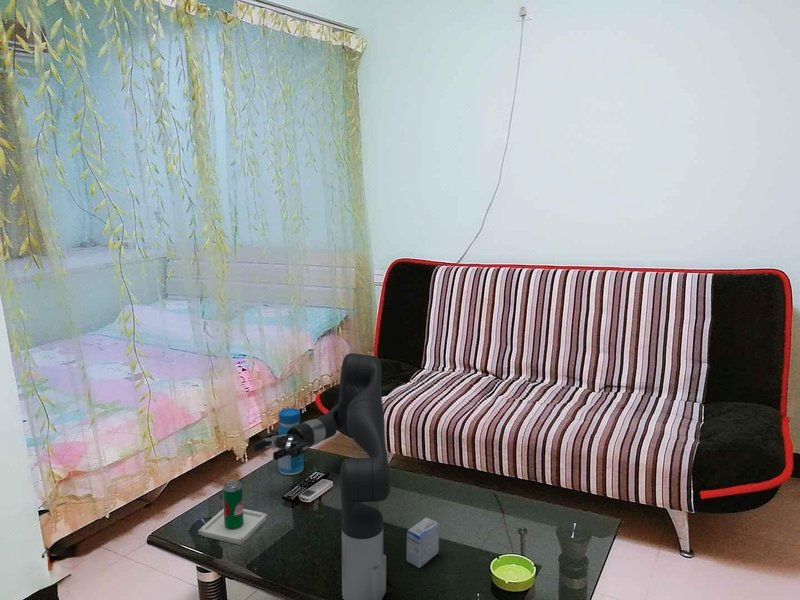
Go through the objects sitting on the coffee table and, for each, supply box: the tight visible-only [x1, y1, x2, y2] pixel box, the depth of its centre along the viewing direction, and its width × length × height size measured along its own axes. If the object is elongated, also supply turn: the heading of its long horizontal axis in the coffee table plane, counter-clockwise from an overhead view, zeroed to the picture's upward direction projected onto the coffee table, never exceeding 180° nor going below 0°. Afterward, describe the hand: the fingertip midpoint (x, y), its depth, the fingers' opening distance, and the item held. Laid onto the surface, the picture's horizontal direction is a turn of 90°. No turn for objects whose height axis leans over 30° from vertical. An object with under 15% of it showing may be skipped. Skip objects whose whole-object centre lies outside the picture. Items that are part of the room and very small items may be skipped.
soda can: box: [222, 479, 244, 529], centre depth 161 cm, size 5×5×12 cm
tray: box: [197, 507, 268, 546], centre depth 162 cm, size 13×13×2 cm
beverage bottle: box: [276, 407, 305, 476], centre depth 192 cm, size 8×8×20 cm
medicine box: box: [405, 517, 440, 569], centre depth 149 cm, size 8×4×9 cm, turn 141°
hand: (263, 452), depth 167 cm, fingers open, 8 cm apart
